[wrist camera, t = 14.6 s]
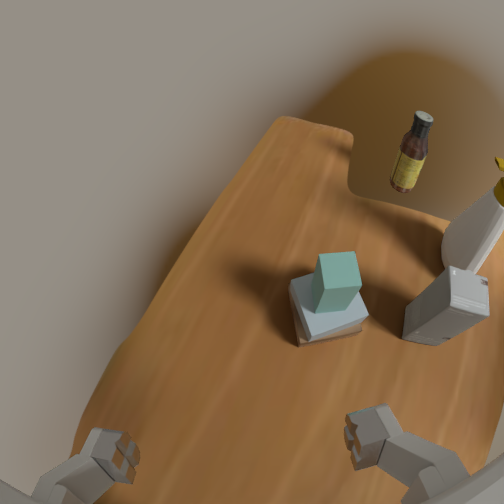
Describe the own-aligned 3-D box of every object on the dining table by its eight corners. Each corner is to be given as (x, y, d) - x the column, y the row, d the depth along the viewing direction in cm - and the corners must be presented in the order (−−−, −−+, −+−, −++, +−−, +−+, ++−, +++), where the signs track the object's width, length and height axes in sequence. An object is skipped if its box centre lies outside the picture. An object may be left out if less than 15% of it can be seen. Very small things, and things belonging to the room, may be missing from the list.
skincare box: (400, 339, 42) (446, 310, 28) (405, 302, 45) (447, 261, 32) (438, 347, 40) (491, 321, 26) (442, 311, 43) (489, 274, 30)
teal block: (345, 310, 38) (362, 285, 31) (314, 313, 39) (324, 289, 31) (340, 281, 41) (354, 251, 33) (311, 284, 41) (319, 254, 33)
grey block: (361, 322, 41) (368, 314, 38) (308, 342, 41) (311, 336, 37) (340, 273, 46) (345, 262, 42) (289, 289, 45) (291, 279, 42)
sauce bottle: (415, 193, 57) (446, 128, 40) (394, 195, 57) (422, 126, 40) (405, 173, 60) (429, 109, 43) (384, 174, 61) (406, 106, 43)
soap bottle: (423, 231, 52) (484, 124, 27) (459, 237, 51) (525, 143, 25) (430, 287, 46) (519, 187, 21) (469, 290, 44) (558, 204, 19)
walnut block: (355, 336, 44) (362, 330, 40) (298, 347, 44) (300, 343, 41) (342, 283, 49) (347, 273, 45) (288, 292, 49) (288, 283, 46)
